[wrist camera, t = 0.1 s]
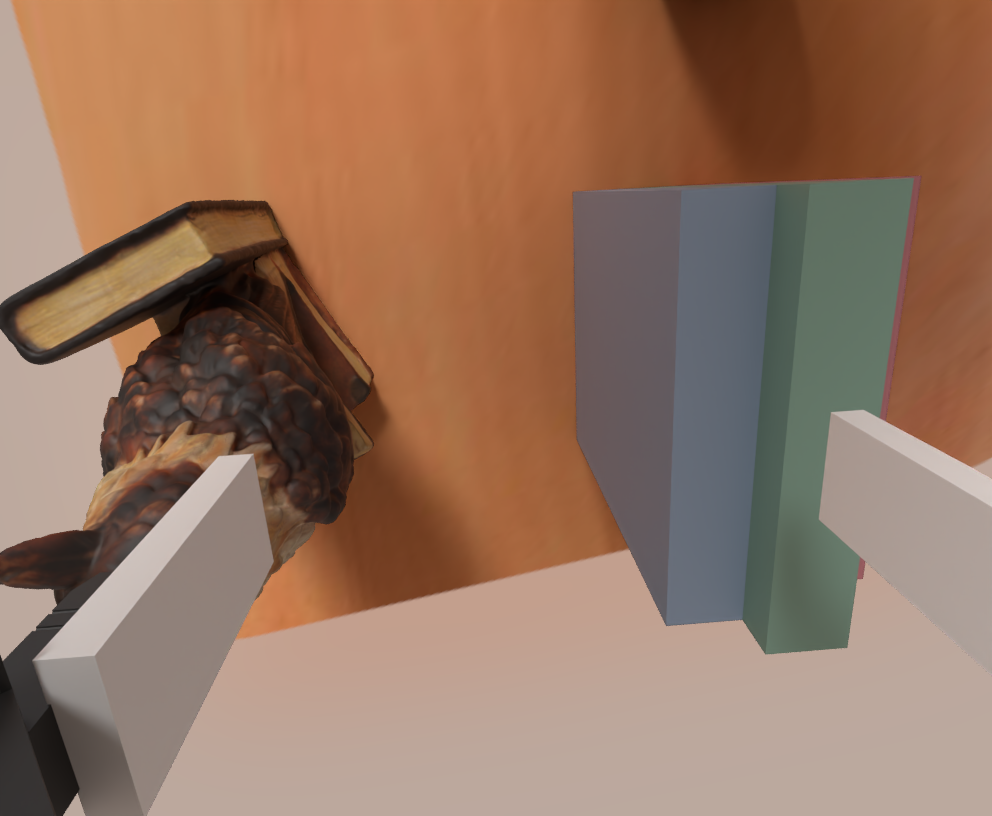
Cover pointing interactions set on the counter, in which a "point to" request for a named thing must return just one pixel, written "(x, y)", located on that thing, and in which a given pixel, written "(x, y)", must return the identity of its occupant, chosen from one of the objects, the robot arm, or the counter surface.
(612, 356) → the book row
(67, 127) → the counter surface
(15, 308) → the bookend
